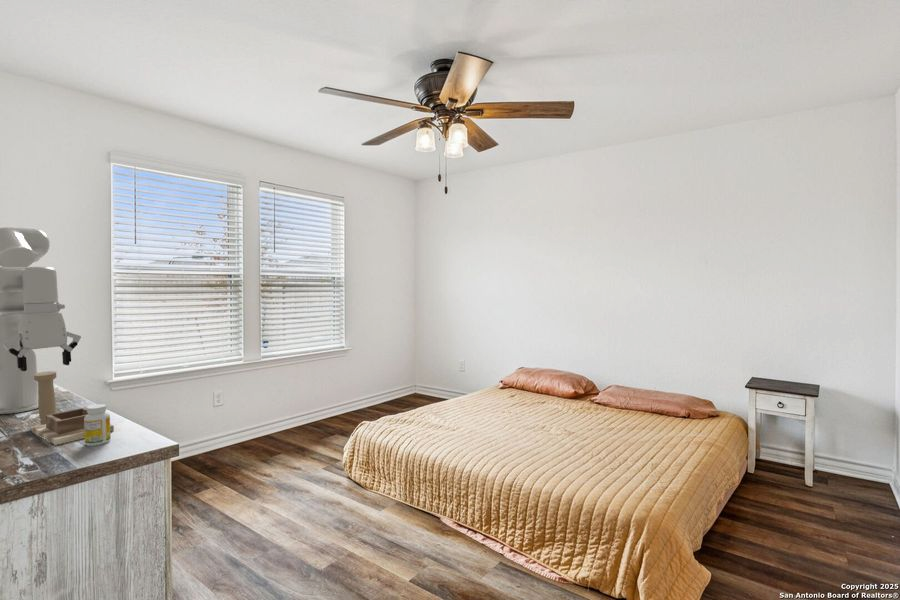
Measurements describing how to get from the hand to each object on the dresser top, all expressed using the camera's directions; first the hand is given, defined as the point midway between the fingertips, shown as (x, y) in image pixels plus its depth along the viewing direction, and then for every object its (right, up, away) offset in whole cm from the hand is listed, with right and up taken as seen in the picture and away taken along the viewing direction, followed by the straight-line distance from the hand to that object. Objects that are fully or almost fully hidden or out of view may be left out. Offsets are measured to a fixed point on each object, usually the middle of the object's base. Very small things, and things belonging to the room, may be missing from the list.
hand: (45, 367), depth 133 cm
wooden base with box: (+13, -17, -6) cm, 22 cm away
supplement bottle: (+27, -18, -14) cm, 35 cm away
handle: (0, -17, +1) cm, 17 cm away
